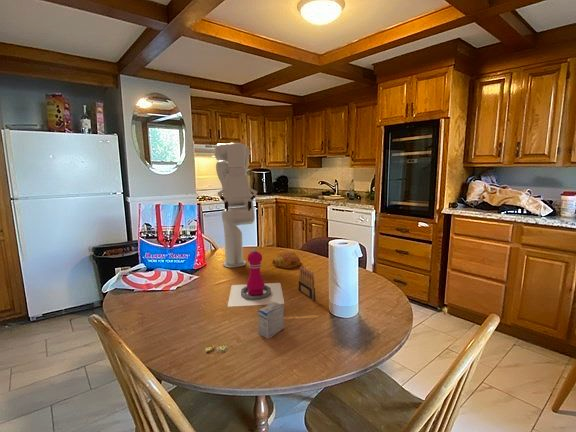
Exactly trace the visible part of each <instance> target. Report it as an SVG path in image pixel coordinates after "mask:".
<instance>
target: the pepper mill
mask: <svg viewBox="0 0 576 432" xmlns="http://www.w3.org/2000/svg"><path fill="white" fill-rule="evenodd" d="M257 250H258V249H257V248H256V247H254V248H252V252H251V251H250V252H249V253H248V254H247V261H248V268H249V277H248V278H247V279H248V280H247V281H246V284H247V288H248V289H249V290H248V294H250V295H260V294H263V289H262V288H263V287H264V284H265V280H264V279H263V277H262V274H261V267H262V261H263V256H262V253H261V252H259V251H257Z"/></svg>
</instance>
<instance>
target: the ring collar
mask: <svg viewBox="0 0 576 432" xmlns="http://www.w3.org/2000/svg"><path fill="white" fill-rule="evenodd" d="M262 289H263V290H266V291H267V292H266V293H264V294H260V295H250V294H246V293H245V292H247V291H248V290H249V289H248V288H247V286H246V287H244V288H243V289H241V296H242V297H243V298H245V299H249V300H261V299H264V298H267V297H269V296H270V295H271V288H270V287H268V286H267V285H264V287H263V288H262Z"/></svg>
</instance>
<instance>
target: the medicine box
mask: <svg viewBox="0 0 576 432" xmlns="http://www.w3.org/2000/svg"><path fill="white" fill-rule="evenodd" d="M284 316H285V306H284V304H279V303H276V302H273V303H271V304H269V305H264V307H262V308H259V309H258V311H257V318H258V322H257V323H258V324H257V326H258V335H260V336H262V337H263V338H265V339H270V338H271V337H273V336H274V335H277V333H280V331H283V330H284V329H285V317H284Z"/></svg>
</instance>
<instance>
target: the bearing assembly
mask: <svg viewBox="0 0 576 432" xmlns="http://www.w3.org/2000/svg"><path fill="white" fill-rule="evenodd" d="M215 347H216V349H214V350H215V352H217V353H225V352H226V351H227V349H228V345H227V344H222V346H217V344H215V345H210V346H207V347H205V349H204V351H205V353H207V352H210V351H212V350H213V348H215Z"/></svg>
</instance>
